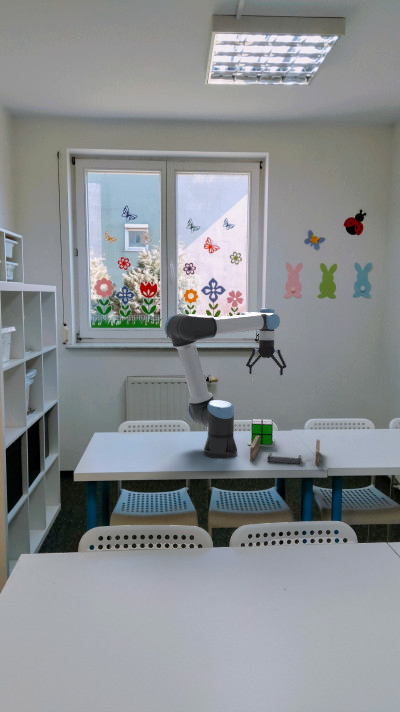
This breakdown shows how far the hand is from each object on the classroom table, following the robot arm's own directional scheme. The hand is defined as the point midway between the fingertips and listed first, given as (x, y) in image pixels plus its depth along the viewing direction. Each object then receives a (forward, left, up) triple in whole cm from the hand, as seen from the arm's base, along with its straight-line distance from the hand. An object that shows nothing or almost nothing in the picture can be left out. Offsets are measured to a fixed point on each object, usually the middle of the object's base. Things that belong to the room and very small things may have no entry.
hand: (265, 381), depth 253 cm
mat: (0, -13, -29) cm, 31 cm away
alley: (+13, -32, -29) cm, 45 cm away
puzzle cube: (0, -13, -28) cm, 31 cm away
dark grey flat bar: (+13, -39, -29) cm, 50 cm away
